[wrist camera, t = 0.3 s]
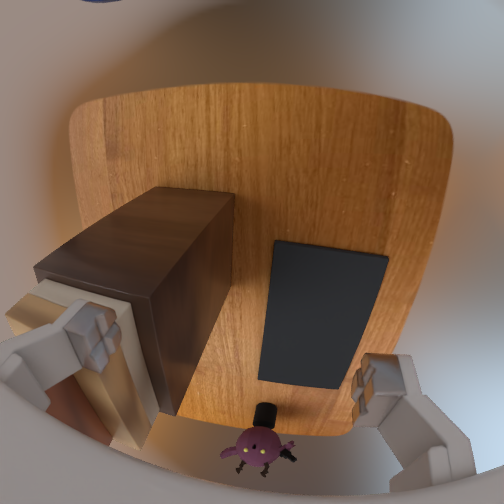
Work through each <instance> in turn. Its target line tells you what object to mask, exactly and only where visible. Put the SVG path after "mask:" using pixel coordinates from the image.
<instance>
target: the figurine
mask: <svg viewBox="0 0 504 504" xmlns="http://www.w3.org/2000/svg"><path fill="white" fill-rule="evenodd" d="M276 415H277V407H276V406H275V405H273V404H271V403H259V404H258V405H257V406H256V411H255V415H254V420H253V426H254V427H252V428H248V429H247V430H245V431H244V432H243V433H242V434H241V435H240V437H239V438H238V440H237V442H236V446H235V447H230V448H226V449H225V450H224V451H222V453H221V454H220V457H221V458H222V459H223V458H226V457H228V456H231V455H236V454H238V455H239V456H240V458H241V460H242V462H241V464H240V465H239V466H240V468H236V471H237V473H238V474H239V473H240V470H242V467H243V465H244V464H249V465H251V466H255V467H261V466H265V469H264V470H263V471H262V472H261V475H262V476H263V477H266V475H265V474H267V473H268V471H267V470H268V468H269V464H270V463H272V462H273V461H274V460H276V459H277V458H278V457H279V456H280V457H284V458H285V459H286V458H288V459H289V460H291V461H292V462H295V461H296V460H297V459H296V458H295V457H294V456H293V455H291V452H290V449H291V448H292V447H294V446H295V445H293V444H294V441H290V442H288V444H287V445H284V446H282V445H281V442H280V439H279V437H278V435H277V434H276V432H274V431H273V430H271V429H273V428H274V427H275V421H276Z"/></svg>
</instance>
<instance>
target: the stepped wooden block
mask: <svg viewBox="0 0 504 504" xmlns="http://www.w3.org/2000/svg"><path fill="white" fill-rule="evenodd" d="M80 298H81V299H84V300H87V301H91V302H94V303H97V304H100V305H103V306H106V307H109V308H112V309H114V310H115V312H116V315H117V319H116V321H115V322H116V323H117V324H118V325H119V327H120V329H121V332H122V340H121V343H120V346H119V348H118V350H117V351H116V352H115V353H113V354H111V355H109V358H110V361H109V363H108V364H107V366H106V367H105V369H104V370H103V372H102V373H101V374H99V373H97V372H94V371H92V370H89V369H86V368H84V367H82V369H80V370H78V371H77V372H75V373H74V374H72V375H70V376H69V377H67V378H65V379H64V380H62V381H60V382H59V383H57V384H55V385H54V386H52V387H50V388H49V389H47V390H45V391H44V392H45V393H46V395H47V396H48V397H49V399H50V402H51V404H50V405H49V407H48V408H47V410H46V411H45V412H46V413H48V414H49V415H51V416H53V417H54V418H56V419H58V420H59V421H61V422H63V423H64V424H66V425H68V426H70V427H71V428H73V429H75V430H77V431H79V432H81V433H82V434H84V435H86V436H88V437H90V438H92V439H94V440H96V441H98V442H100V443H103V444H105V445H107V446H109V445H110V443H111V441H112V439H113V440H115V441H118V442H120V443H122V444H125V445H127V446H129V447H132V448H135V449H137V450H140V451H141V449H142V447H143V445H144V443H145V441H146V438H147V436H148V434H149V432H150V430H151V428H152V425H153V423H154V421H155V419H156V417H157V414H158V412H159V410H160V408H159V405H158V402H157V399H156V396H155V393H154V390H153V387H152V383H151V380H150V377H149V374H148V370H147V367H146V363H145V360H144V356H143V352H142V349H141V345H140V341H139V337H138V333H137V329H136V325H135V320H134V316H133V311H132V307H131V304H130V303H129V302H125V301H121V300H117V299H113V298H110V297H106V296H102V295H99V294H95V293H91V292H88V291H85V290H81V289H78V288H74V287H71V286H68V285H65V284H61V283H58V282H55V281H52V280H49V279H44V280H43V281H41V282H40V283H39V284H38V285H37V286H36V287H34V288H33V289H32V290H31V291H30V292H29V293H27V294H26V295H25V296H24V297H23V298H22V299H20V301H18V302H17V303H16V304H15V305H14V306H13V307H12V308H11V309H10V310H8V311H7V312H6V313H5V316H6V318H7V320H8V322H9V324H10V326H11V329H12V331H13V333H14V335H15V336H18V335H21V334H23V333H26V332H28V331H31V330H33V329H36V328H38V327H41V326H44V325H46V324H49V323H50V324H53V323H54V322H55V321H56V320H57V319H58V318H59V317H60V316H61V314H62V313H63V312H64V311H65V310H66V309H67V308H68V307H69V306H70V305H71V304H72V303H73V302H74V301H75V300H76V299H80Z"/></svg>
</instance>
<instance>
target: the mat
mask: <svg viewBox="0 0 504 504" xmlns="http://www.w3.org/2000/svg"><path fill="white" fill-rule="evenodd" d="M388 261H389V258H388V257H387V256H381V255H375V254H368V253H361V252H355V251H348V250H341V249H334V248H328V247H321V246H314V245H307V244H300V243H293V242H285V241H278V240H275V243H274V252H273V261H272V269H271V278H270V286H269V295H268V303H267V311H266V319H265V327H264V334H263V342H262V350H261V357H260V365H259V372H258V380H263V381H269V382H276V383H283V384H290V385H298V386H307V387H316V388H326V389H339V387H340V385H341V383H342V381H343V379H344V376H345V374H346V372H347V370H348V368H349V365H350V363H351V361H352V359H353V356H354V354H355V352H356V349H357V347H358V345H359V342H360V340H361V337H362V335H363V332H364V330H365V327H366V325H367V322H368V319H369V317H370V314H371V311H372V309H373V306H374V303H375V300H376V298H377V295H378V292H379V289H380V286H381V283H382V280H383V277H384V274H385V270H386V267H387V264H388Z"/></svg>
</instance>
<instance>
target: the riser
mask: <svg viewBox="0 0 504 504" xmlns="http://www.w3.org/2000/svg"><path fill="white" fill-rule="evenodd" d="M234 199H235V194H234V193H225V192H215V191H204V190H192V189H180V188H166V187H154V188H152V189H150V190H149V191H147V192H145V193H143V194H142V195H140V196H138V197H137V198H135V199H133V200H131V201H130V202H128V203H126V204H125V205H123V206H121V207H120V208H118V209H117V210H115V211H113V212H112V213H110V214H108V215H107V216H105V217H104V218H102V219H101V220H99V221H97V222H96V223H94V224H93V225H91V226H90V227H88V228H87V229H85V230H84V231H82V232H81V233H79V234H78V235H76V236H75V237H73V238H72V239H70V240H69V241H68V242H66V243H65V244H63V245H62V246H60V247H59V248H58V249H56V250H55V251H53V252H52V253H51V254H49V255H48V256H47V257H45V258H44V259H43V260H41V261H40V262H39V263H37V264H36V265H35V266H34V267H33V268H34V271H35V275H36V278H37V281H38V284H39V283H40V282H41V281H43V280H44V279H49V280H52V281H55V282H58V283H61V284H65V285H68V286H71V287H74V288H78V289H81V290H85V291H88V292H91V293H95V294H99V295H102V296H106V297H110V298H113V299H117V300H121V301H125V302H129V303H130V304H131V307H132V311H133V316H134V320H135V325H136V329H137V333H138V337H139V341H140V345H141V349H142V352H143V356H144V360H145V363H146V367H147V370H148V374H149V377H150V380H151V383H152V387H153V390H154V393H155V396H156V399H157V402H158V405H159V408H160V410H159V412H162V413H165V414H168V415H172V416H176V414H177V412H178V410H179V407H180V405H181V402H182V400H183V398H184V395H185V393H186V391H187V388H188V386H189V384H190V381H191V379H192V376H193V374H194V372H195V369H196V367H197V365H198V362H199V360H200V358H201V355H202V353H203V351H204V348H205V346H206V344H207V341H208V339H209V336H210V334H211V332H212V329H213V327H214V325H215V322H216V320H217V318H218V315H219V313H220V311H221V308H222V306H223V304H224V301H225V299H226V297H227V294H228V292H229V290H230V287H231V269H232V243H233V220H234Z"/></svg>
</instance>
